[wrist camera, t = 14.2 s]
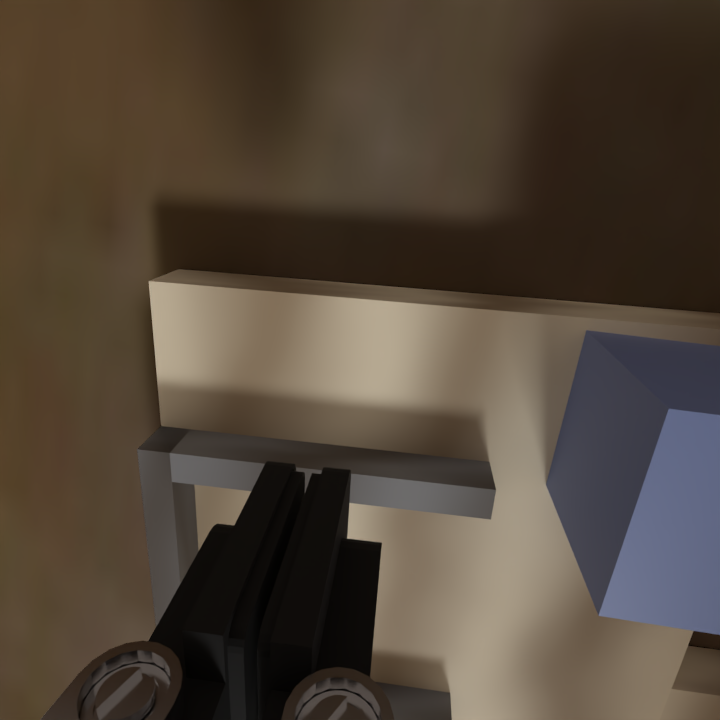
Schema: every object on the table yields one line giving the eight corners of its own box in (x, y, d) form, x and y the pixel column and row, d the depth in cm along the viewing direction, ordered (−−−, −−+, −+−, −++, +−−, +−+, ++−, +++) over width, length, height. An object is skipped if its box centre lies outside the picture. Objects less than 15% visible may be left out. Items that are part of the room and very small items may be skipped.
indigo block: (777, 352, 14) (962, 446, 9) (714, 508, 15) (842, 654, 11) (586, 330, 14) (668, 408, 9) (545, 484, 16) (598, 615, 11)
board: (1016, 337, 15) (1186, 384, 11) (785, 770, 21) (851, 879, 18) (178, 269, 17) (120, 292, 14) (205, 683, 23) (170, 766, 20)
